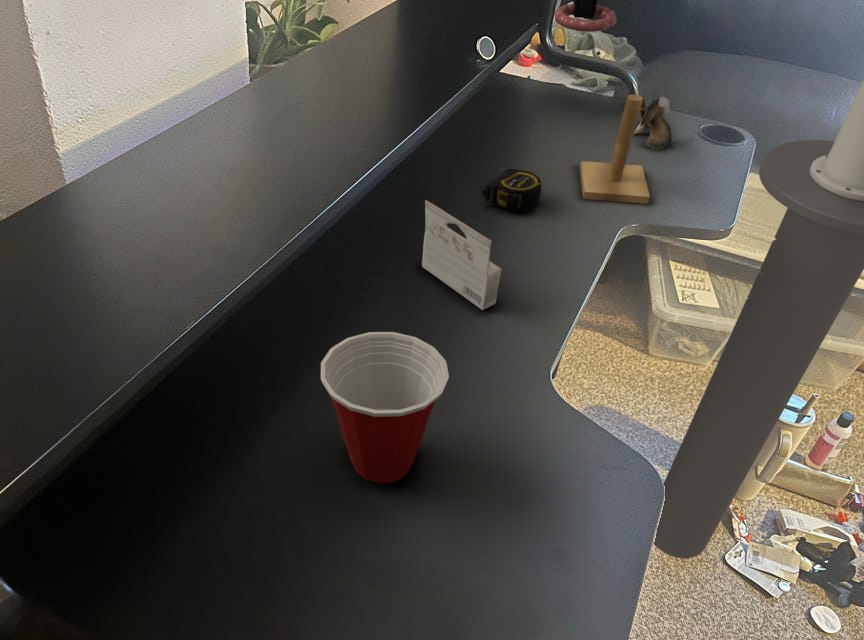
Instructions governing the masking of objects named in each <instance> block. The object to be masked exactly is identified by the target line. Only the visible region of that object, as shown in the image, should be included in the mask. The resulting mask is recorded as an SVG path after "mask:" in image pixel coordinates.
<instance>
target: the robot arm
mask: <svg viewBox="0 0 864 640" xmlns="http://www.w3.org/2000/svg"><path fill="white" fill-rule="evenodd" d="M574 3H575V7H574V13H573V15H572V16H573V18H577V19H594V17H595V16H594V15H595V10H596V5H598V0H573V2H572V4H574ZM834 141H835V142H834V144H833V146H832V148H831V150H830V152H829V155H825V156H822V157H819V158H817V159H815V160H814V161H813V163H812V165H811V167H810V170H809V171H810V175H811V177H812V179H813V180H814V181H815V182H816V183H817V184H818V185H820V186H821V187H823V188H824V189H826V190H828V191H830V192H832V193H834V194H837V195H839V196H842V197H845V198H849V199H852V200H857V201H863V202H864V79H862V81H861V84H860V86H859V88H858V90H857V92H856V94H855V97H854V99H853V101H852V104H851V105H850V107H849V110H848V112H847V114H846V115H845V118H844V120H843V123H842V125H841V126H840V129H839V131H838V133H837V135H836V138H835V139H834Z"/></svg>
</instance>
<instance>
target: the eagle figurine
mask: <svg viewBox="0 0 864 640" xmlns="http://www.w3.org/2000/svg"><path fill="white" fill-rule="evenodd" d="M642 98H643V100H642V103H641V107H640V111H639V114H640V117H641V120H640V123H639V124H638V125H637V127H635V130H634V134H633V135H637V134H640V133H642V132H643V130H644V129H645V128H647V127H649V128H650V132H649V136H648V137H647V140H646V143H645V145H646V146H648V148H650V149H652V150H654V151H655V150H657V151H659V150H660V149H661V150H663V149H664V148H668V146H670V145H671V142H672V139H673V137H672V136H673V135H672V129H671V126H670V124H669V123H668V121H667V120H666V119H665V117H664V116H668V115H669V113H670V107H671V106H670V105H671V104H670V100H669V99H668V98H667V97H665V96H660V97H659V98H658V97H657V98H656V99H652V100H651V102H650V103H649V105H647V106H646V100H645V97H642Z"/></svg>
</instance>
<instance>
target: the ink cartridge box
mask: <svg viewBox="0 0 864 640" xmlns="http://www.w3.org/2000/svg"><path fill="white" fill-rule="evenodd" d="M424 206H425V207H424V211H425V212H424V217H425V221H424V222H425V228H424V229H425V230H424V231H425V232H424V234H423V235H424V236H423V246H422V255H421V256H422V259H421V267H422V268H423V269H424V270H426V271H427V272H429V273H430V274H431V275H433V276H434V277H435V278H437V279H438V280H440V281H441V282H443V283H444V284H445V285H447V287H449V288H451V289H452V290H454V291H455V292H456V293H458V294H459V295H461V296H462V297H463V298H465V299H466V300H468V301H469V302H470V303H471V304H473V305H474V306H476V307H477V308H478V309H480V310H481V311H484V310H486V309H488V308H490V307H492V306H494V305H496V303H497V297H498V293H499V292H498V291H499V286H500V279H501V274H502V268H501V267H499V266H498V265H496V264H495V263H493V262H492V261H491V252H492V240H491V239H489V238H488V237H486V236H485V235H483V234H481V233H480V232H478V231H477V230H475V229H474V228H472V227H470V226H469V225H467V224H466V223H464V222H462V221H460V220H459V219H458V218H456V217H454V216H453V215H451V214H449V213H448V212H446V211H445V210H443V209H442V208H440V207H438V206H437V205H435V204H434V203H432V202H430V201H428V200H427V199H425V200H424ZM449 224H450V225H451V224H452V225H456V226H457V227H458V228H459V229H460V230H461V231H462V232H463V234H464V235H465V237H464V236H462V235H461V234H459V233H457V232H456V231H455V230H453V229H452V228H450V227H449Z"/></svg>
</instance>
